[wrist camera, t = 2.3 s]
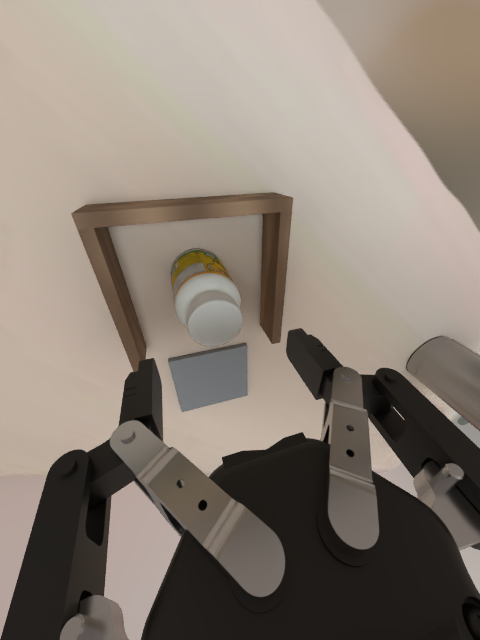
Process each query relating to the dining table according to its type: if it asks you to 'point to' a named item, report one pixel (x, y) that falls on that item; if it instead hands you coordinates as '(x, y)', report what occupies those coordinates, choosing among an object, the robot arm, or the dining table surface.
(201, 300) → the supplement bottle
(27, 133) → the dining table surface
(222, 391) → the mat
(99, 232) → the cubby
